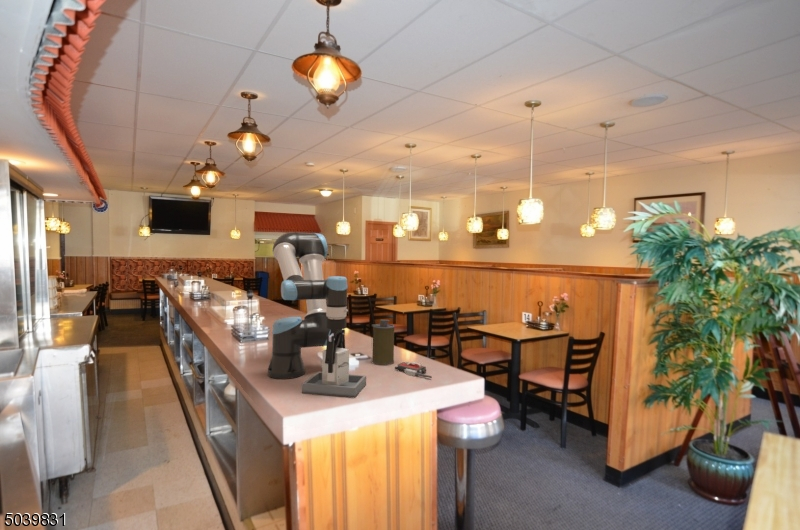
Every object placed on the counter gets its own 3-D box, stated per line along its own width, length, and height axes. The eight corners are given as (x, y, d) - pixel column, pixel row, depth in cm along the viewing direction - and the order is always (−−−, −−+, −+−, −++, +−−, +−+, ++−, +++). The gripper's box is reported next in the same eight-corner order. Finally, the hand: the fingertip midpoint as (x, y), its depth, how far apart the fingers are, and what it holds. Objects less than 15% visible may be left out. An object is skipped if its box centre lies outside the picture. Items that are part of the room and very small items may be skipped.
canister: (393, 359, 198) (394, 318, 197) (394, 365, 188) (395, 322, 187) (371, 359, 198) (372, 318, 197) (370, 365, 187) (371, 321, 187)
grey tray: (302, 393, 148) (302, 383, 148) (317, 380, 163) (317, 371, 163) (355, 397, 145) (355, 388, 145) (366, 384, 159) (366, 375, 159)
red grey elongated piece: (391, 371, 179) (430, 381, 167) (391, 361, 178) (430, 370, 167) (403, 367, 186) (441, 376, 174) (403, 358, 186) (441, 366, 174)
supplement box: (336, 387, 149) (337, 353, 148) (321, 383, 153) (321, 350, 152) (349, 381, 155) (349, 348, 154) (334, 378, 159) (334, 346, 158)
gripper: (336, 322, 142) (335, 387, 142) (354, 313, 163) (353, 369, 164) (316, 321, 143) (315, 385, 144) (336, 313, 164) (335, 368, 165)
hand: (335, 377), depth 154 cm, fingers open, 9 cm apart
